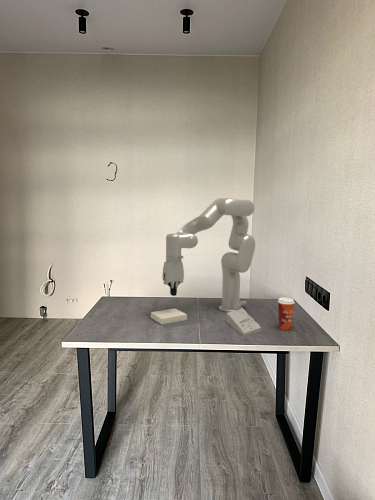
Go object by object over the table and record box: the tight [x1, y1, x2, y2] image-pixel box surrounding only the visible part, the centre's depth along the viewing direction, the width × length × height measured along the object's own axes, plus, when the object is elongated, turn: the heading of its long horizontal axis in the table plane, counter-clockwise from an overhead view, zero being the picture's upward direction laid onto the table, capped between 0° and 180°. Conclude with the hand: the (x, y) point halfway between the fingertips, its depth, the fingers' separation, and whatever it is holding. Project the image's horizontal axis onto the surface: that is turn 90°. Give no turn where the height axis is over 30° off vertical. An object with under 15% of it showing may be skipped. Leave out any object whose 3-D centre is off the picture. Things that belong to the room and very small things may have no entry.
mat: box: [146, 308, 206, 329], centre depth 189 cm, size 22×22×1 cm
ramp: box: [225, 307, 262, 337], centre depth 180 cm, size 28×16×5 cm, turn 177°
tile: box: [150, 307, 187, 326], centre depth 187 cm, size 3×12×14 cm
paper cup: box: [277, 297, 295, 331], centre depth 177 cm, size 8×8×14 cm
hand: (173, 295), depth 187 cm, fingers closed
